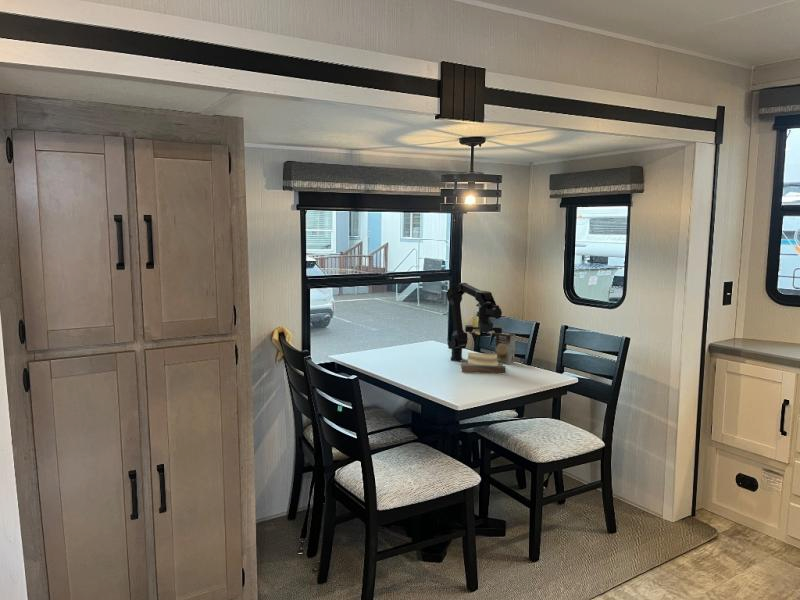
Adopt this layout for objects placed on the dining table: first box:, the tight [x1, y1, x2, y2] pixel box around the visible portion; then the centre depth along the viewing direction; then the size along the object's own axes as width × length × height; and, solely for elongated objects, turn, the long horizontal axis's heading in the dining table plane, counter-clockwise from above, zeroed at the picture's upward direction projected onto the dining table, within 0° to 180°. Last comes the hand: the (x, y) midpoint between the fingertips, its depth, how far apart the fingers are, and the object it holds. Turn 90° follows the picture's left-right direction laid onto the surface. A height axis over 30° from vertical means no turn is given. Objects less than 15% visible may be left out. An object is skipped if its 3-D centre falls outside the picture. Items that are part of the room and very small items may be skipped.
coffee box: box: [494, 331, 517, 365], centre depth 325 cm, size 9×6×16 cm
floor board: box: [460, 361, 506, 374], centre depth 309 cm, size 16×22×3 cm
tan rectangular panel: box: [467, 352, 499, 366], centre depth 310 cm, size 10×15×2 cm, turn 85°
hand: (482, 345), depth 311 cm, fingers open, 7 cm apart
